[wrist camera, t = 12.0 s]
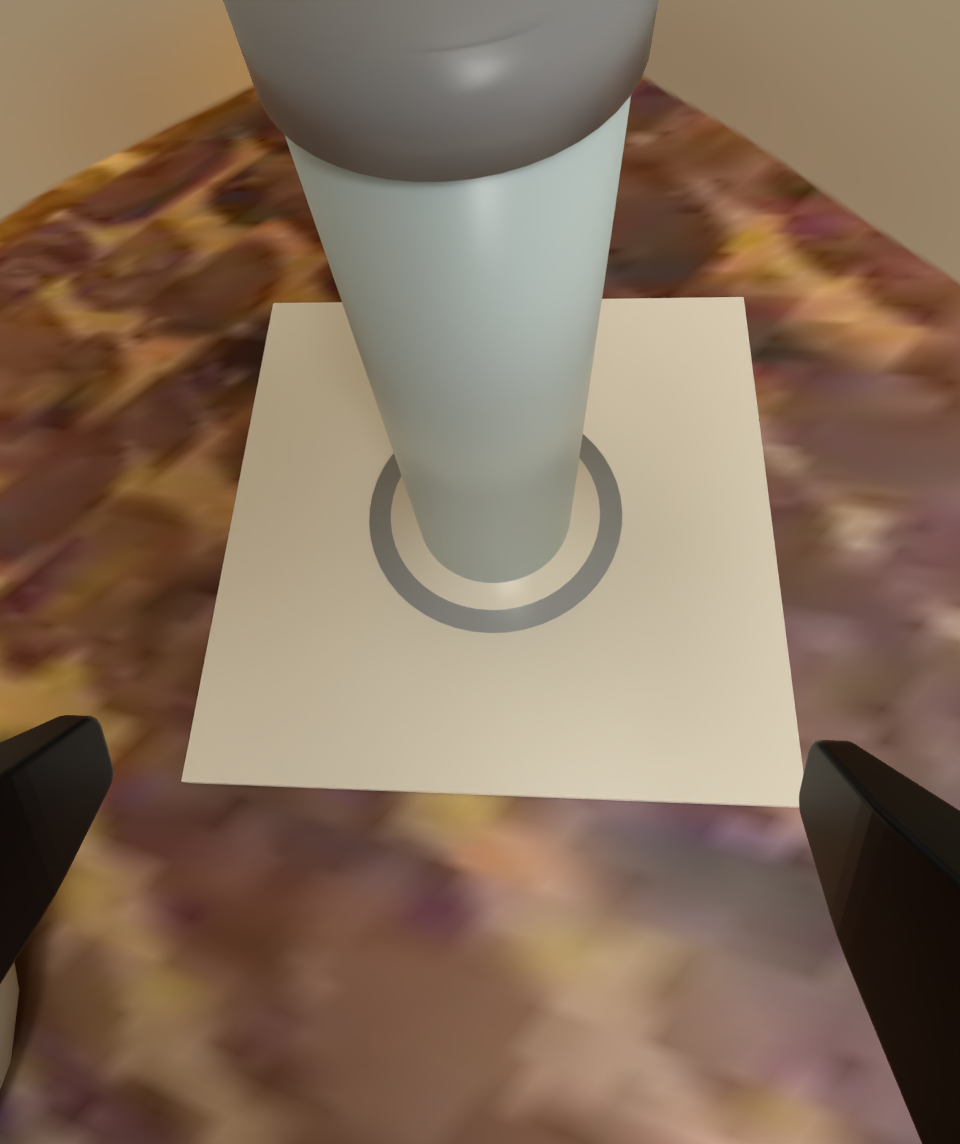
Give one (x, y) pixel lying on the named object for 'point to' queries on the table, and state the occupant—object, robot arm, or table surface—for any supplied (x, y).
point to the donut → (7, 1019)
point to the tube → (463, 233)
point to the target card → (508, 592)
